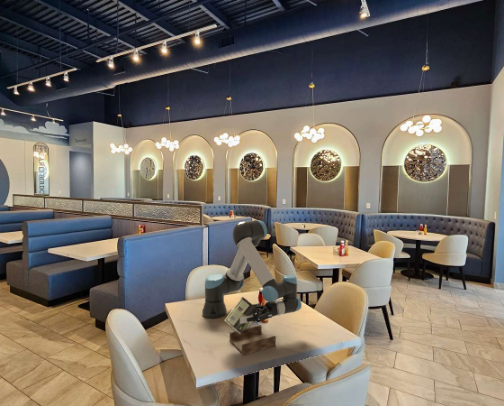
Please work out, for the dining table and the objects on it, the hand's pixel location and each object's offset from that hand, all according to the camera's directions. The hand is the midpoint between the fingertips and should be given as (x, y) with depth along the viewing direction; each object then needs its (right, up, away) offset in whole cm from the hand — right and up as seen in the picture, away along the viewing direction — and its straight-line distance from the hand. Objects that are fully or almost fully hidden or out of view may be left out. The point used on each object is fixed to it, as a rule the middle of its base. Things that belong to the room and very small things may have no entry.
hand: (235, 316), depth 144 cm
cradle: (+8, -15, +5) cm, 18 cm away
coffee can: (-2, -5, -1) cm, 5 cm away
